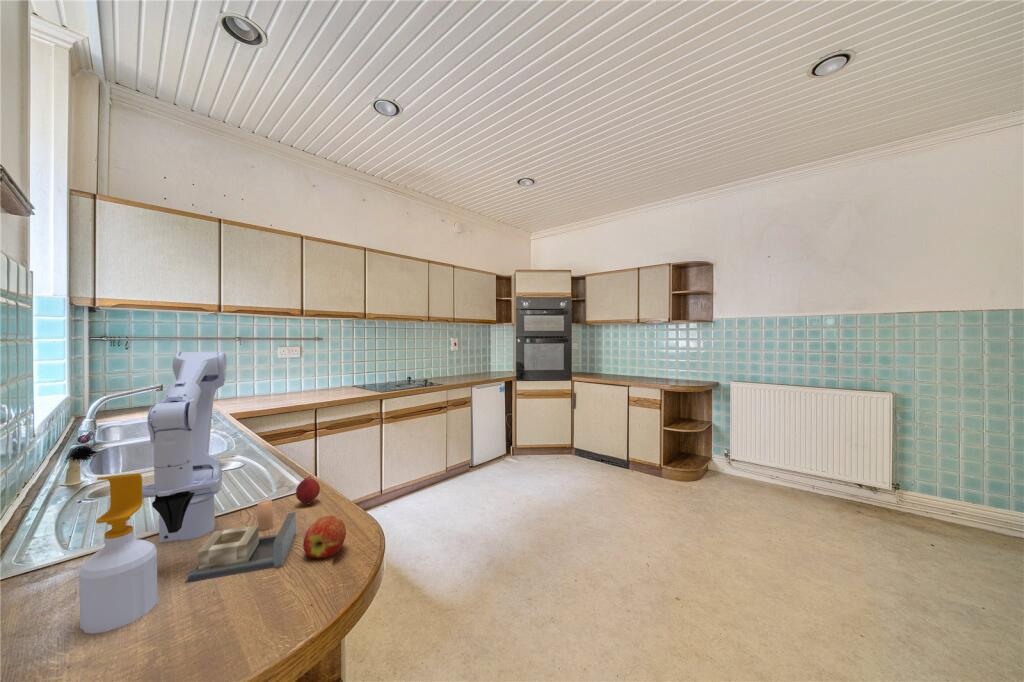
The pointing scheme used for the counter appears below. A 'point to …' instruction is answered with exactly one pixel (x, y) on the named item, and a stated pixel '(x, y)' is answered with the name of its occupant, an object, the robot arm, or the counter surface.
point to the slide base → (256, 555)
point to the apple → (324, 537)
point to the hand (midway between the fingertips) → (175, 530)
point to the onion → (307, 490)
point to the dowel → (265, 515)
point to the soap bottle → (118, 565)
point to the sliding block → (228, 547)
